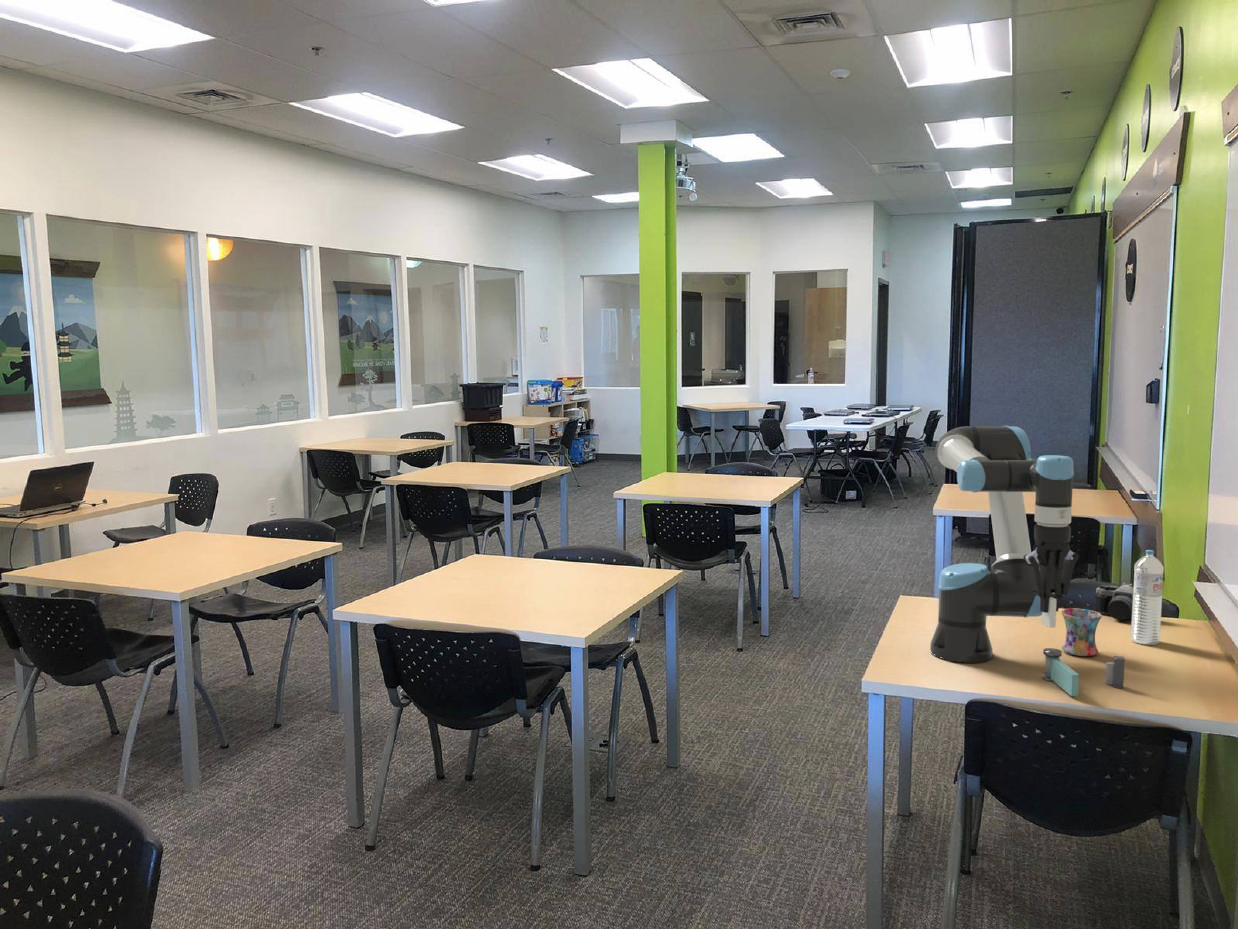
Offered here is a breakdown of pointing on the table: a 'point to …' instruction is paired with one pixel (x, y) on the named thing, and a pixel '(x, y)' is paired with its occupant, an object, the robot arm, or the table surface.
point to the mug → (1080, 631)
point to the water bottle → (1147, 600)
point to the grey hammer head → (1051, 653)
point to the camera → (1114, 601)
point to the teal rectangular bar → (1062, 675)
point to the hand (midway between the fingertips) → (1048, 625)
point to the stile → (1115, 672)
